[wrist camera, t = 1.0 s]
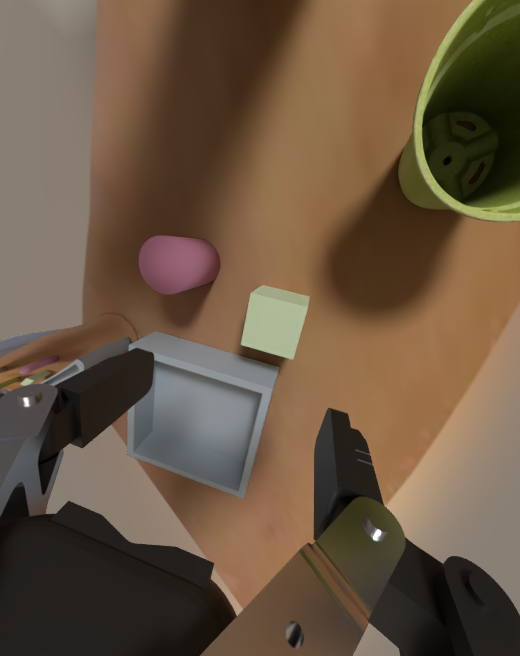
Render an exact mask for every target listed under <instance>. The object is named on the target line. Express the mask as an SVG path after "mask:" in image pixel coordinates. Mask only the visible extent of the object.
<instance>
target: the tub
mask: <svg viewBox="0 0 520 656" xmlns="http://www.w3.org/2000/svg"><path fill="white" fill-rule="evenodd" d="M134 348H140V349H143V350H146V351H150V352H152V353H153V354H154V373H153V383H152V387H151V389H150V391H149V392H148V393H147V394H146V395H145V396H144V397H143V398H142V399H141V400H139V401H138V402H137V403H136V404H135V405H133V406H132V407H131V408H130V409H129V410H128V436H127V455H129V456H131V457H134V458H137V459H139V460H142V461H144V462H147V463H150V464H152V465H155V466H158V467H160V468H163V469H166V470H168V471H171V472H173V473H176V474H179V475H181V476H184V477H187V478H189V479H192V480H195V481H197V482H200V483H203V484H205V485H208V486H210V487H213V488H216V489H218V490H221V491H224V492H226V493H229V494H232V495H234V496H237V497H240V498H242V499H244V497H245V494H246V490H247V487H248V483H249V480H250V477H251V473H252V470H253V466H254V462H255V459H256V455H257V451H258V447H259V443H260V440H261V436H262V432H263V428H264V425H265V421H266V417H267V413H268V409H269V406H270V402H271V398H272V394H273V391H274V387H275V383H276V379H277V375H278V372H279V368H280V367H277V366H274V365H270V364H267V363H264V362H260V361H257V360H253V359H250V358H246V357H243V356H240V355H236V354H233V353H229V352H226V351H223V350H219V349H216V348H212V347H209V346H205V345H202V344H199V343H195V342H192V341H188V340H185V339H181V338H178V337H175V336H171V335H168V334H164V333H161V332H158V331H155V332H153V333H151V334H149V335H147V336H145V337H143V338H141V339H139V340H137V341H135V342H133V343H131V344H129V351H130V350H132V349H134Z"/></svg>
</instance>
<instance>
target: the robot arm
mask: <svg viewBox="0 0 520 656" xmlns="http://www.w3.org/2000/svg"><path fill="white" fill-rule="evenodd" d="M153 373H154V354H153V353H152V352H150V351H146V350H143V349H140V348H134V349H132V350H130V351H128V352H126V353H124V354H123V355H118V356H114V357H110V358H107V359H105V360H103V361H101V362H99V363H98V364H97V365H96V364H95V365H94V366H92V367H90V368H89V369H86V370H84V371H82V372H80V373H78V374H76V375H74V376H72V377H70V378H68V379H66V380H64V381H62V382H60V383H58V384H56V385H54V386H52V385H49V384H31V385H26V386H22V387H19V388H16V389H13V390H11V391H9V392H8V393H6V394H2V393H0V656H353V654H354V652H355V650H356V648H357V646H358V644H359V642H360V640H361V638H362V636H363V634H364V632H365V630H366V628H367V626H368V624H369V623H371V624H372V625H373V626H374V627H375V628H376V629H377V630H379V631H380V632H381V633H382V634H383V635H384V636H386V637H387V638H388V639H389V640H390V641H391V642H392V643H393V644H395V645H396V646H397V647H398V648H399V651H400V656H520V615H519V613H518V611H517V609H516V608H515V606H514V604H513V603H512V601H511V600H510V598H509V597H508V596H507V594H506V593H505V592H504V591H503V589H502V588H501V587H500V586H499V585H498V584H497V583H496V582H495V580H494V579H493V578H492V577H490V576H489V575H488V574H487V573H486V572H485V571H484V570H482V569H481V568H480V567H478V566H477V565H476V564H474V563H472V562H471V561H469V560H467V559H464V558H461V557H457V556H451V557H449V558H448V559H447V560H446V561H445V562H444V563H443V564H442V563H441V562H439V561H438V560H436V559H435V558H433V557H432V556H430V555H429V554H428V553H426V552H425V551H423V550H422V549H420V548H419V547H417V546H416V545H414V544H413V543H412V542H410V541H409V540H408V539H407V538H406V537H405V535H404V532H403V530H402V527H401V525H400V524H399V522H398V521H397V519H396V518H395V516H394V515H393V514H392V513H391V512H390V511H389V510H388V509H387V508H386V507H385V506H384V504H383V500H382V497H381V493H380V489H379V486H378V482H377V478H376V474H375V471H374V467H373V466H372V460H371V456H370V452H369V448H368V445H367V442H366V440H365V439H364V437H363V436H362V434H361V433H360V432H359V430H356V429H353V428H351V426H350V421H349V416H348V414H347V413H344V412H341V411H338V410H335V409H332V408H328V410H327V412H326V414H325V417H324V420H323V423H322V425H321V428H320V431H319V433H318V436H317V439H316V444H315V450H314V540H316V541H315V542H314V543H313V544H312V545H311V544H310V543H307V544H306V545H304V546H303V547H302V548H301V549H300V550H299V551H298V552H297V553H296V554H295V555H294V556H293V557H292V559H291V560H290V561H289V562H288V563H287V564H286V565H285V566H284V567H283V568H282V569H281V570H280V571H279V572H278V573H277V574H276V575H275V577H274V578H273V579H272V580H271V581H270V582H269V583H268V584H267V585H266V586H265V587H264V588H263V589H262V590H261V591H260V592H259V594H258V595H257V596H256V597H255V598H254V599H253V600H252V601H251V602H250V603H249V604H248V605H247V606H246V607H245V608H244V609H243V610H242V612H241V613H240V614H239V615H238V616H236V613H235V611H234V609H233V607H232V605H231V604H230V602H229V601H228V599H227V597H226V596H225V594H224V593H223V592H222V590H221V589H220V588H219V587H218V586H217V584H216V583H214V582H213V581H212V580H211V575H212V570H213V566H214V563H213V562H210V561H208V560H206V559H203V558H201V557H199V556H196V555H194V554H191V553H189V552H187V551H185V550H182V549H180V548H178V547H171V546H159V545H147V544H135V543H131V542H129V541H128V540H126V539H125V538H124V537H123V536H122V535H121V534H120V533H119V532H118V531H117V530H116V529H115V528H114V527H113V526H112V525H111V524H110V523H109V522H108V521H107V520H106V519H105V518H104V517H103V516H102V515H101V514H98V513H96V512H94V511H91V510H89V509H87V508H84V507H82V506H79V505H77V504H75V503H73V502H70V501H68V502H67V503H66V504H65V505H64V506H63V507H62V508H61V509H60V510H59V511H58V513H56V514H46V509H47V504H48V500H49V498H50V494H51V491H52V488H53V485H54V482H55V479H56V476H57V473H58V469H59V466H60V463H61V460H62V457H63V448H64V447H66V446H67V445H68V444H69V443H71V444H73V445H75V446H78V447H80V448H83V447H85V446H86V445H87V444H88V443H89V442H90V441H92V440H93V439H94V438H95V437H97V436H98V435H99V434H100V433H101V432H102V431H104V430H105V429H106V428H107V427H108V426H110V425H111V424H112V423H113V422H114V421H116V420H117V419H118V418H119V417H120V416H122V415H123V414H124V413H125V412H126V411H128V410H129V409H130V408H131V407H132V406H133V405H135V404H136V403H137V402H138V401H139V400H141V399H142V398H143V397H144V396H145V395H146V394H147V393H148V392H149V391H150V389H151V387H152V383H153Z"/></svg>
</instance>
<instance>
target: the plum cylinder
mask: <svg viewBox="0 0 520 656" xmlns="http://www.w3.org/2000/svg"><path fill="white" fill-rule="evenodd" d="M139 269H140V272H141V275H142V277H143V279H144V280H145V282H146V283H147V284H148V285H149V286H150V287H151V288H152V289H153V290H155V291H156V292H158V293H161V294H165V295H172V294H176V293H179V292H182V291H186V290H189V289H192V288H195V287H198V286H202V285H205V284H208V283H210V282H212V281H213V280H214V279H215V278H216V277H217V275H218V273H219V270H220V257H219V254H218V252H217V250H216V249H215V247H214V246H213V245H212V244H211V243H209V242H208V241H206V240H203V239H196V238H186V237H175V236H164V235H158V236H154V237H151V238H149V239H148V240H147V241H146V242H145V243H144V244H143V246H142V248H141V250H140V253H139Z"/></svg>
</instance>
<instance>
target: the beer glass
mask: <svg viewBox="0 0 520 656" xmlns="http://www.w3.org/2000/svg"><path fill="white" fill-rule="evenodd" d="M137 340H138V338H137V335H136V332H135V330H134V328H133V327H132V325H131V324H130V323H129V322H128V321H127V320H126V319H125V318H123V317H122V316H120V315H118V314H114V313H105V314H102V315H100V316H98V317H96V318H94V319H92V320H90V321H89V322H87V323H85V324H82V325H79V326H75V327H72V328H65V329H58V330H50V331H43V332H37V333H29V334H24V335H18V336H13V337H8V338H4V339H0V393H2V394H6V393H8V392H9V391H11V390H13V389H16V388H19V387H22V386H26V385H31V384H49V385H52V386H54V385H56V384H58V383H60V382H62V381H64V380H66V379H68V378H70V377H72V376H74V375H76V374H78V373H80V372H82V371H84V370H86V369H89V368H90V367H92V366H94V365H95V364H96V365H97V364H98V363H99V362H101V361H103V360H105V359H107V358H110V357H114V356H118V355H123V354H124V353H126V352H128V351H129V344H131V343H133V342H135V341H137Z"/></svg>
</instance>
